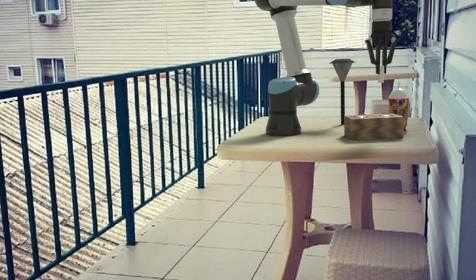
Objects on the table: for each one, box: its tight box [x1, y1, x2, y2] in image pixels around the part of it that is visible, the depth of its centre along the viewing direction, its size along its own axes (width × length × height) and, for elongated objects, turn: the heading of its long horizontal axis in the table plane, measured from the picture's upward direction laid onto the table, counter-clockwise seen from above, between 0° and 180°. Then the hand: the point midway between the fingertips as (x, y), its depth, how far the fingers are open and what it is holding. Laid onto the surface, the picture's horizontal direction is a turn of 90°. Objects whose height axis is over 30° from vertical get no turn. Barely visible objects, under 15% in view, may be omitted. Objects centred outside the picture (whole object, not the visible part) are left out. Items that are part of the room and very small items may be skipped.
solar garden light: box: [328, 58, 356, 126], centre depth 242 cm, size 12×12×30 cm
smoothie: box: [387, 81, 410, 131], centre depth 221 cm, size 8×8×20 cm
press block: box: [343, 113, 405, 141], centre depth 207 cm, size 20×12×8 cm, turn 93°
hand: (380, 82), depth 206 cm, fingers closed
